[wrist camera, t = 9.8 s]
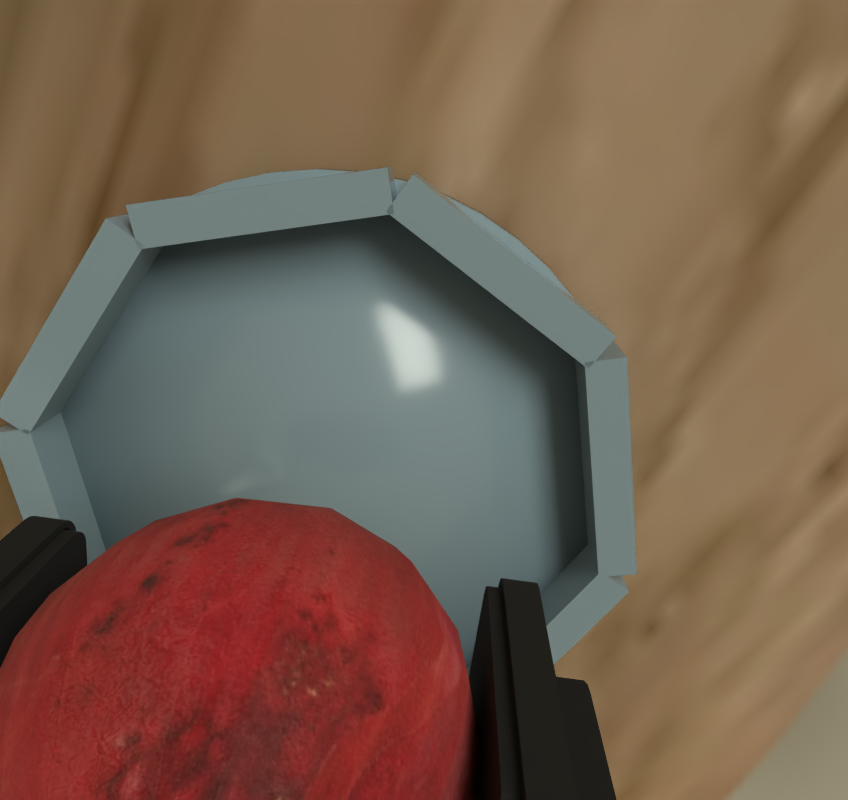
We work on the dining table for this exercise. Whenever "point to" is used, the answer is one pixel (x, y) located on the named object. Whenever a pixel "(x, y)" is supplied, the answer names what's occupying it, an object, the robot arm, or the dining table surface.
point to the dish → (338, 387)
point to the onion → (240, 669)
